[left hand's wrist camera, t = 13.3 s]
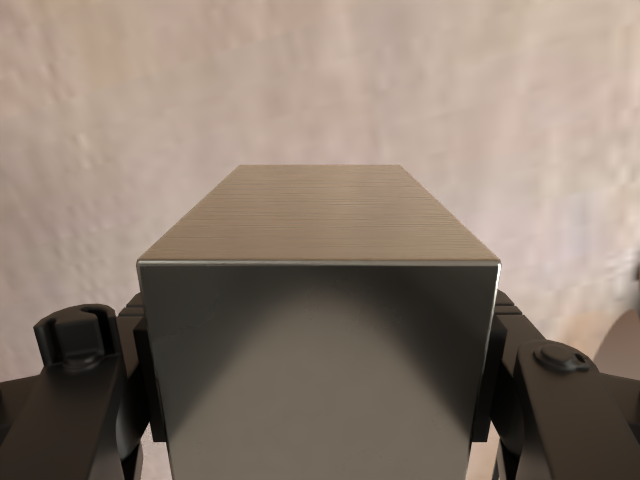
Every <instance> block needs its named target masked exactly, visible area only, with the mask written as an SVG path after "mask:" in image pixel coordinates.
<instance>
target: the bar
mask: <svg viewBox="0 0 640 480" xmlns="http://www.w3.org/2000/svg"><path fill="white" fill-rule="evenodd" d="M136 268H137V274H138V280H139V286H140V292H141V297H142V303H143V309H144V315H145V321H146V327H147V333H148V339H149V345H150V350H151V356H152V362H153V368H154V374H155V380H156V386H157V392H158V398H159V403H160V409H161V415H162V421H163V427H164V433H165V439H166V445H167V451H168V457H169V462H170V468H171V474H172V480H466V474H467V468H468V462H469V456H470V450H471V444H472V438H473V432H474V426H475V420H476V414H477V408H478V402H479V396H480V391H481V385H482V379H483V373H484V367H485V361H486V355H487V349H488V343H489V337H490V331H491V325H492V319H493V313H494V307H495V301H496V295H497V289H498V283H499V277H500V271H501V261H500V259H499V258H498V257H497V256H496V255H495V254H494V253H492V252H491V251H490V250H489V249H488V248H487V247H486V246H485V245H484V244H483V243H482V242H481V241H480V240H479V239H478V238H477V237H476V236H475V235H473V234H472V233H471V232H470V231H469V230H468V229H467V228H466V227H465V226H464V225H463V224H462V223H461V222H460V221H459V220H458V219H457V218H456V217H454V216H453V215H452V214H451V213H450V212H449V211H448V210H447V209H446V208H445V207H444V206H443V205H442V204H441V203H440V202H439V201H438V200H436V199H435V198H434V197H433V196H432V195H431V194H430V193H429V192H428V191H427V190H426V189H425V188H424V187H423V186H422V185H421V184H420V183H419V182H417V181H416V180H415V179H414V178H413V177H412V176H411V175H410V174H409V173H408V172H407V171H406V170H405V169H404V168H403V167H402V166H400V165H239V166H238V167H237V168H236V169H235V170H234V171H233V172H231V173H230V174H229V175H228V176H227V177H226V178H225V179H224V180H223V181H222V182H221V183H220V184H218V185H217V186H216V187H215V188H214V189H213V190H212V191H211V192H210V193H209V194H208V195H207V196H205V197H204V198H203V199H202V200H201V201H200V202H199V203H198V204H197V205H196V206H195V207H194V208H193V209H191V210H190V211H189V212H188V213H187V214H186V215H185V216H184V217H183V218H182V219H181V220H180V221H178V222H177V223H176V224H175V225H174V226H173V227H172V228H171V229H170V230H169V231H168V232H167V233H165V234H164V235H163V236H162V237H161V238H160V239H159V240H158V241H157V242H156V243H155V244H154V245H153V246H151V247H150V248H149V249H148V250H147V251H146V252H145V253H144V254H143V255H142V256H141V257H140V258H138V259H137V263H136Z"/></svg>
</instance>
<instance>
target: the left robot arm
mask: <svg viewBox="0 0 640 480" xmlns="http://www.w3.org/2000/svg"><path fill="white" fill-rule="evenodd" d="M33 329H34V332H35V336H36V339H37V343H38V346H39V350H40V353H41V357H42V360H43V364H44V367H43V369H42V371H41V373H40V375H36V376H31V377H26V378H21V379H16V380H11V381H6V382H1V383H0V480H140V478H141V471H142V464H143V450H142V445H141V440H140V439H141V437H142V435H143V433H144V431H145V429H146V427H147V425H148V423H149V422H150V426H151V432H152V437H153V442H166V439H165V433H164V427H163V421H162V415H161V409H160V403H159V398H158V392H157V386H156V380H155V374H154V368H153V362H152V356H151V350H150V345H149V339H148V333H147V327H146V321H145V315H144V309H143V303H142V297H141V292H140V293H138V294H136V295H135V296H134V297H133V298H132V300H131V301H130V302H129V303H128V304H127V305H126V308H124V309H123V310H122V311H121V312H120V313H119V314H118V317H116V315H115V310H114V309H112V308H111V307H109V306H107V305H102V304H83V305H78V306H73V307H68V308H65V309H62V310H60V311H57V312H54V313H52V314H50V315H49V316H47V317H45V318H43V319H41V320H40V321H39V322H38V323H37V324H36V325H35V326H34V327H33ZM491 421H492V423H493V425H494V427H495V428H496V430H497V432H498V434H499V436H500V440H499V445H498V450H497V455H496V460H495V465H494V470H493V475H492V480H498V479H499V477H500V480H640V381H639V380H634V379H629V378H624V377H619V376H613V375H608V374H604V373H600V372H599V370H598V368H597V367H596V365H595V364H594V363H593V362H592V361H591V359H590V358H589V357H588V356H586V355H585V354H583V353H582V352H580V351H579V350H577V349H575V348H573V347H570V346H568V345H565V344H563V343H559V342H555V341H551V340H546V339H545V338H544V336H543V335H542V334H541V333H540V332H539V331H538V330H537V329H536V328H535V326H534V325H533V324H532V323H531V322H530V321H529V320H528V319H527V318H526V316H525V315H522V312H521V311H520V310H519V309H518V307H517V306H514V303H513V302H512V301H511V300H510V299H509V297H508V296H507V295H506V294H505V293H503V292H502V291H500V290H498V289H497V295H496V301H495V307H494V313H493V319H492V325H491V331H490V337H489V343H488V349H487V355H486V361H485V367H484V373H483V379H482V385H481V391H480V396H479V402H478V408H477V414H476V420H475V426H474V432H473V438H472V442H487V439H488V433H489V428H490V422H491Z"/></svg>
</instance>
